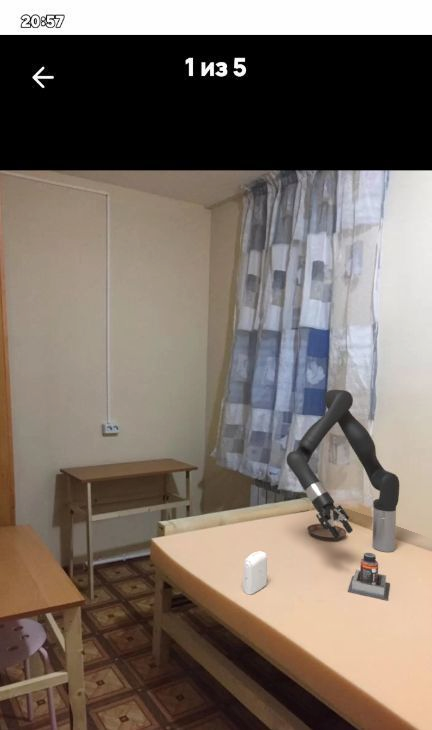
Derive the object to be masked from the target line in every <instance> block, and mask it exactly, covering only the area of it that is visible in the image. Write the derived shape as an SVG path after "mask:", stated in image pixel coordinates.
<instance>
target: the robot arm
mask: <svg viewBox="0 0 432 730" xmlns="http://www.w3.org/2000/svg"><path fill="white" fill-rule="evenodd" d="M323 401H324V405H325V407H326V408H327V411H326V412H325V413H324V414H323V415H322V416H321V417H320V418H319V419H318V420H317V421H315V423H313V424H312V425H311V426H310V427H308V429H307V430H306V431H305V433H304V435H302V438H301V439H300V441H299V442H298V447H297V448H296V450H293V451H290V452H289V453H288V454H287V456H286V464H287V466H288V467H289V468H290V471H292V473H293V474H294V475H295V477H296V478H297V480H298V482H299V484H300V486H301V488H303V491H304V492H305V494H306V496H307V498H308V500H309V501H310V502H311V504H312V505H313V507H314V509H315V510H316V512H318V513H317V514H316V515H315V516H316V518H317V520H318V521H319V524H321V525H322V527H323V528H324V529H328V530H330V532H331V533H332V535H333V536H334V537H335V538H338V537H339V536H340V534H339V533H338V531H337V530H336V528H335V527H333V526H334V525H335V524H334V522H335V521H336V522H339V523H340V524H341V525H342V527H343V529H345V530H346V533H347V534H350V533H352V532H353V529H354V528H352V526H351V524H350V523H349V522H348V521H349V520H350V516H349V515H348V514H347V512H346V511H345V510H344V508H343V507H342V506H341V505H340V504H338V506H335V505H334V504H335V500H334V499H333V498H332V496H331V494H330V493H329V491H328V490H327V489H326V487H325V485H323V484H322V482H321V481H320V479H319V477H318V476H317V475H316V473H315V472H314V471H313V469H311V467H310V465H309V461H310V459H311V458H312V456H313V453H315V451H316V449H317V448H318V446H320V445H321V442H322V441H323V440H324V438H325V437H326V436H327V434H328V433H329V432H330V430H331V429H332V428H333V427H334V426H335V425H336V424H338V426H339V427H340V429H341V431H342V433H343V435H344V436H345V439H347V442H348V443H349V445H350V448H352V450H353V452H354V453H355V455H356V457H357V458H358V461H359V462H360V464H361V465H362V467H363V469H364V471H365V473H366V475H367V477H368V480H369V483H370V484H371V486H372V487H373V488H374V489H375V490H377V491H379V497H378V498H377V499H374V500H373V508H372V509H373V511H372V514H373V515H372V517H373V518H372V539H371V540H372V541H371V542H372V544H371V545H372V548H373V549H375V550H377V551H379V552H384V553H391V552H394V551H395V550H396V529H397V528H396V527H397V526H396V525H397V524H396V523H397V521H396V520H397V506H398V504H399V499H400V498H399V496H400V480H399V477H398V476H397V475H396V474H395V473H393V472H390V471H388V470H386V469H385V468H384V467H383V466H382V464H381V463H380V461H379V459H378V457H377V451H376V445H375V442H374V440H373V438H372V436H371V434H370V433H369V431H368V430H367V428H366V427H364V425H363V424H362V423H361V422H360V421H359V420H357V419H356V417H355V416H353V414H352V413H351V411H350V409H351V408H352V405H353V402H354V398H353V396H352V394H351V392H349V391H348V390H343V389H329V390H328V391H326V393H325V394H324V399H323ZM325 524H326V525H325Z"/></svg>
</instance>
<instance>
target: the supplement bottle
mask: <svg viewBox="0 0 432 730" xmlns="http://www.w3.org/2000/svg"><path fill="white" fill-rule="evenodd" d="M376 558H377V557H376V554H374V553H372V552H364V553H363V558H362V559H360V569H359V570H360V582H365V583H370V584H375V585H378V574H379V562H378V561H377V560H376Z"/></svg>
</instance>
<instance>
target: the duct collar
mask: <svg viewBox="0 0 432 730" xmlns="http://www.w3.org/2000/svg"><path fill="white" fill-rule="evenodd" d="M390 588H391V582H388V581H387V575H385V574H381V573H378V585H375V584H370V583H365V582H360V569H355V572H354V574H353V575H352V576H351V579H350V582H349V585H348V588H347V592H348V593H350V594H355V595H359V596H365V597H369V598H373V599H378V600H382V601H386V602H388V601H389V593H390Z"/></svg>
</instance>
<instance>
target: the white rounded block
mask: <svg viewBox="0 0 432 730" xmlns="http://www.w3.org/2000/svg"><path fill="white" fill-rule="evenodd" d="M242 577H243V578H242V579H243V580H242V581H243V582H242V584H243V585H242V590H243V592H244V593H245V594H246V595H254V594H255V593H257V592H259V591H260V590H261V589H263V588H265V586H267V583H268V580H267V579H268V556H267V553H266V552H264V551H255V552H252V553H251V554H249V556H247V557H246V559H245V560H244V561H243V576H242Z"/></svg>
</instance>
